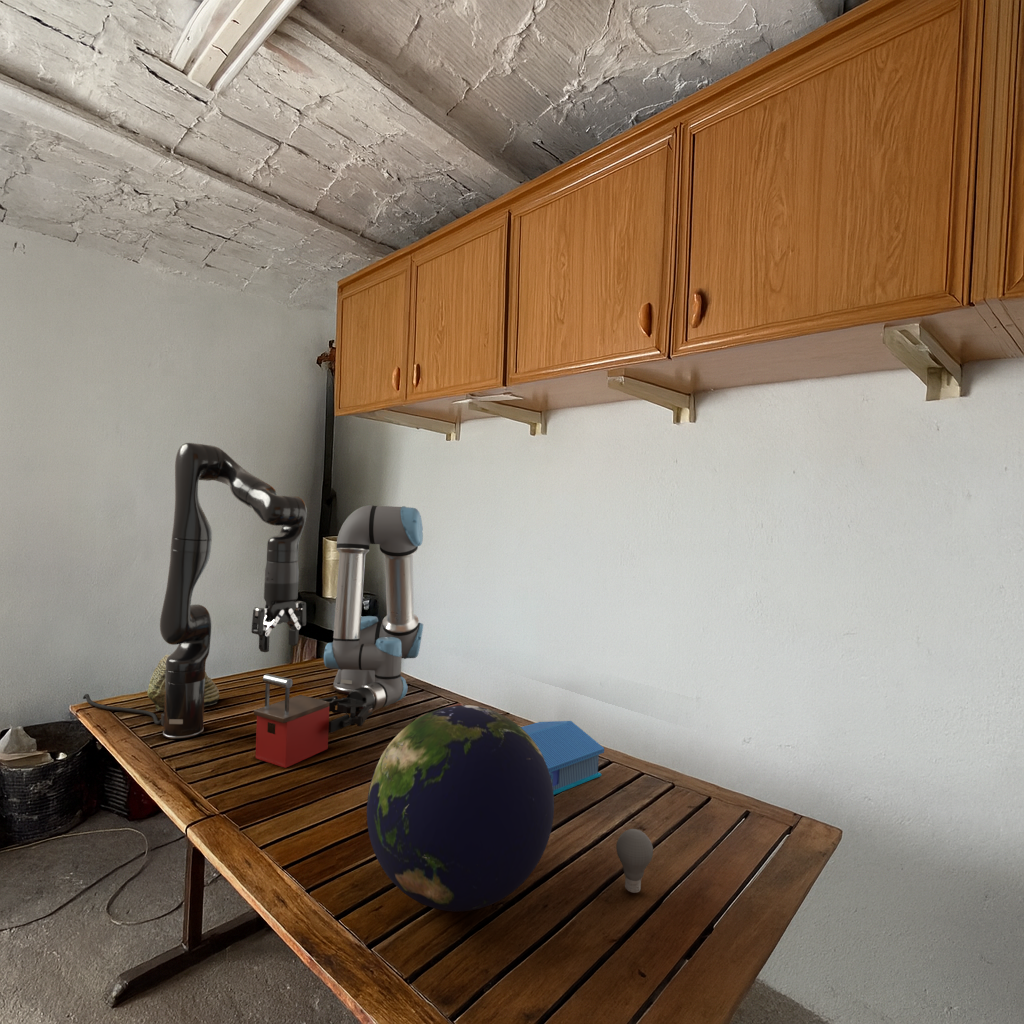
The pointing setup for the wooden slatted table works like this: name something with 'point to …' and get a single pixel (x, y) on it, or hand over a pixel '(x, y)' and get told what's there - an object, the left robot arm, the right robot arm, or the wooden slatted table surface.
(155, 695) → the fossil
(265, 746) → the chest
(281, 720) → the lid
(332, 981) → the wooden slatted table surface
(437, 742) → the globe
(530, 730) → the model building
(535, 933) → the wooden slatted table surface
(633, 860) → the light bulb
